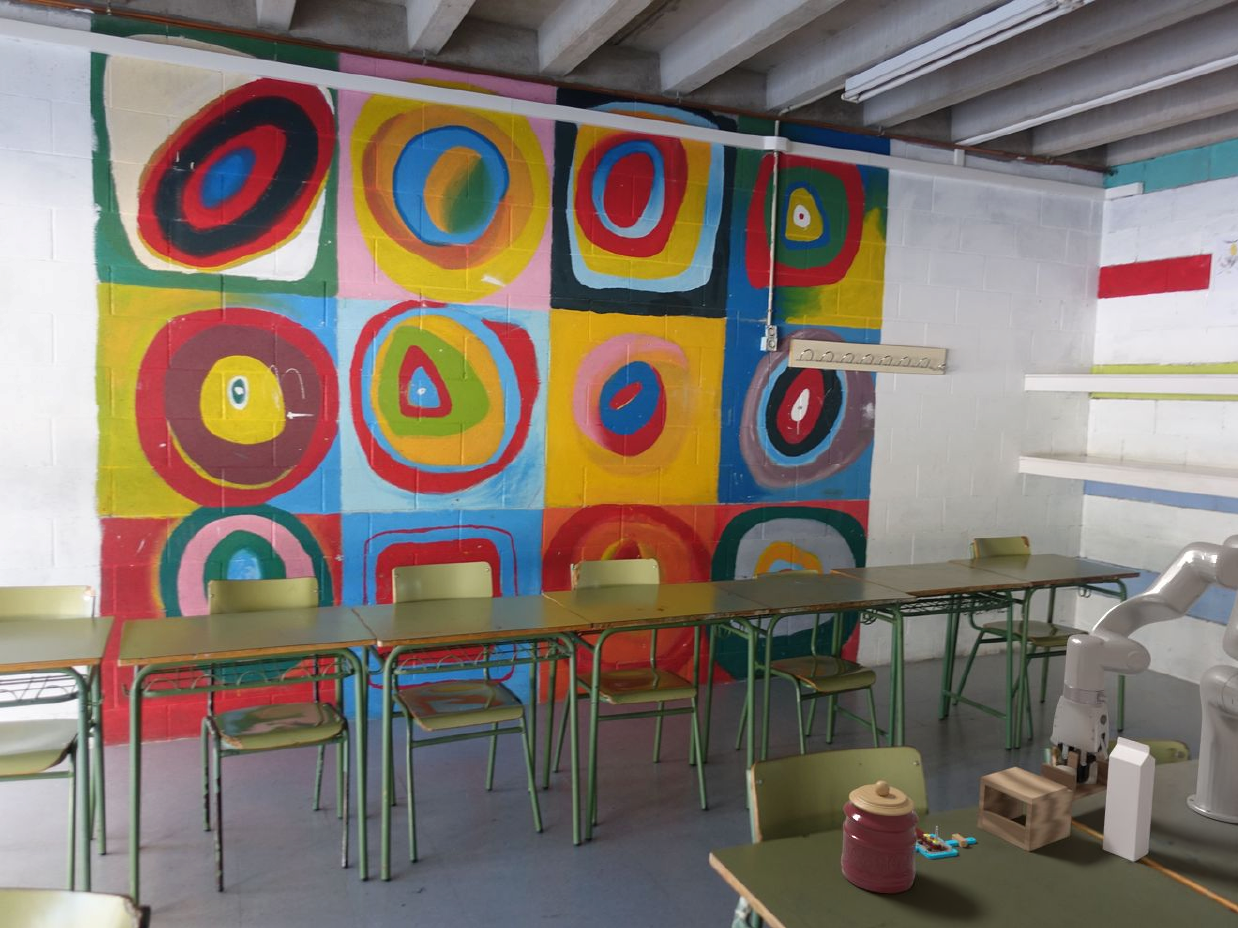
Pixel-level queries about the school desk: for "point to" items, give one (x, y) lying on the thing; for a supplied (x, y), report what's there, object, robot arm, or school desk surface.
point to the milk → (1129, 800)
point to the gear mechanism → (939, 844)
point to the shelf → (1006, 801)
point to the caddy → (1069, 775)
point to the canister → (879, 839)
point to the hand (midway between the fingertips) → (1075, 778)
